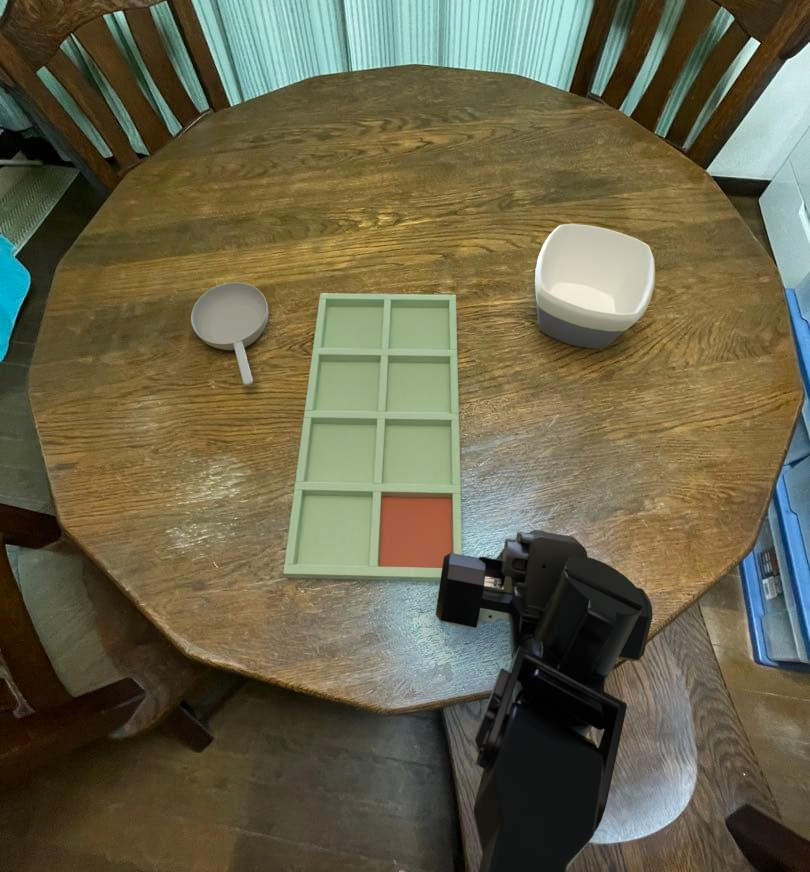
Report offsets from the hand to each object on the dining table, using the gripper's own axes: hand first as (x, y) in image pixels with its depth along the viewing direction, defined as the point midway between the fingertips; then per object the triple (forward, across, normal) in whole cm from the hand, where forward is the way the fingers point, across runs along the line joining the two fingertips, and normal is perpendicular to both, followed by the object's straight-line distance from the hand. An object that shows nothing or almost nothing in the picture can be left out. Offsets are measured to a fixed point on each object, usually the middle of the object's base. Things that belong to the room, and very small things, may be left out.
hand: (533, 555), depth 62 cm
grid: (+15, +20, -6) cm, 26 cm away
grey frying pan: (+21, +42, -12) cm, 49 cm away
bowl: (+31, -5, -21) cm, 38 cm away
